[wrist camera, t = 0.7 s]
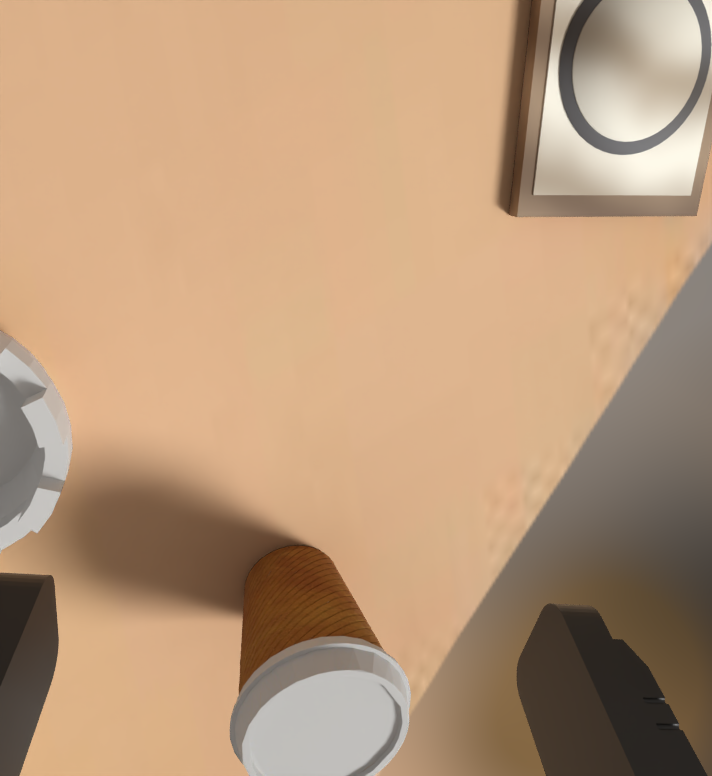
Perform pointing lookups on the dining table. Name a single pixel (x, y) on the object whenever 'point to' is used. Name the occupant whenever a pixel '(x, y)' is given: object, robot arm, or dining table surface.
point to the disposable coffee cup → (313, 675)
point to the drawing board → (614, 109)
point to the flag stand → (29, 442)
